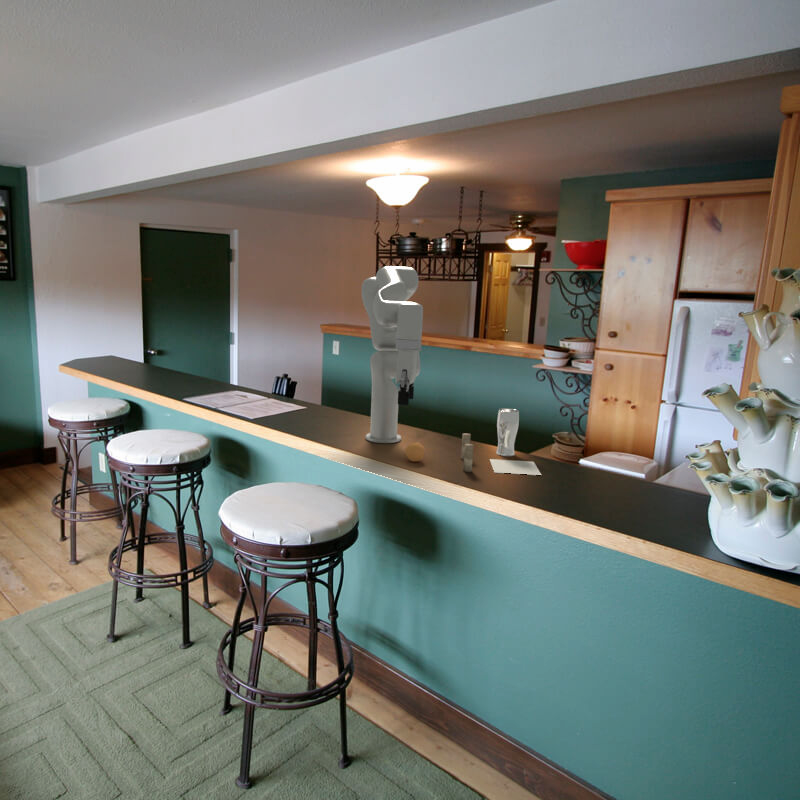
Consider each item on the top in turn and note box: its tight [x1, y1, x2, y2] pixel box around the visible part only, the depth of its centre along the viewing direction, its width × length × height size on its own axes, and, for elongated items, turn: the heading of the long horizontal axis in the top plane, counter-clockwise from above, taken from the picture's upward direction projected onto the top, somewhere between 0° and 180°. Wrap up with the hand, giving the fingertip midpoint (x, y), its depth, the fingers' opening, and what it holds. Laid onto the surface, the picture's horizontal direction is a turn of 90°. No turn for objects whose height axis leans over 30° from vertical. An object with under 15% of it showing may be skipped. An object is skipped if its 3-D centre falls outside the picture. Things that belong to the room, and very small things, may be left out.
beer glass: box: [495, 407, 520, 457], centre depth 189 cm, size 7×7×15 cm
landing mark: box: [489, 458, 542, 477], centre depth 176 cm, size 14×14×1 cm
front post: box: [462, 443, 474, 473], centre depth 169 cm, size 3×3×8 cm
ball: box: [405, 441, 426, 463], centre depth 177 cm, size 6×6×6 cm
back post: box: [460, 433, 472, 460], centre depth 182 cm, size 3×3×8 cm
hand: (405, 401), depth 172 cm, fingers open, 9 cm apart
